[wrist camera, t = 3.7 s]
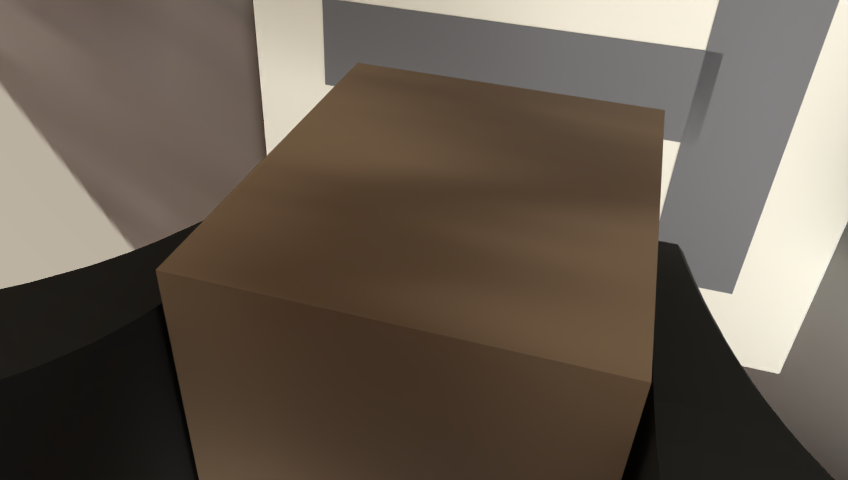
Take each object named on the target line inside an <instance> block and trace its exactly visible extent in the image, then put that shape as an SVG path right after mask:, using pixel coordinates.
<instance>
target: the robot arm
mask: <svg viewBox="0 0 848 480" xmlns="http://www.w3.org/2000/svg"><path fill="white" fill-rule="evenodd" d="M202 222H203V221H202ZM202 222H199V223H197V224H195V225H193V226H191V227H188V228H186V229H184V230H182V231H179V232H177V233H175V234H173V235H171V236H168V237H166V238H164V239H162V240H159V241H157V242H155V243H152V244H150V245H147V246H145V247H142V248H139V249H137V250H134V251H132V252H129V253H127V254H123V255H120V256H118V257H115V258H112V259H109V260H106V261H103V262H101V263H98V264H94V265H91V266H88V267H84V268H81V269H77V270H74V271H70V272H66V273H63V274H59V275H55V276H52V277H48V278H45V279H41V280H38V281H34V282H30V283H26V284H22V285H17V286H13V287H8V288H4V289H0V480H199V478H198V473H197V468H196V463H195V458H194V453H193V449H192V444H191V439H190V434H189V429H188V424H187V420H186V415H185V410H184V405H183V400H182V396H181V391H180V386H179V381H178V376H177V371H176V367H175V362H174V357H173V352H172V347H171V342H170V338H169V333H168V328H167V323H166V318H165V313H164V309H163V304H162V299H161V294H160V289H159V284H158V280H157V275H156V269H157V268H158V267H159V266H160V265H161V264H162V263H163V262H164V261H165V260H166V259H167V258H168V257H169V256H170V255H171V254H172V253H173V252H174V251H175V250H176V248H177V247H178V246H179V245H180V244H181V243H182V242H183V241H184V240H185V239H186V238H187V237H188V236H189V235H190V234H191V233H192V232H193V231H194V230H195V229H196V228H197V227H198V226H199V225H200V224H201V223H202ZM621 480H834V479H833V478H832V477H831V476H830V475H829V474H828V473H827V471H826V470H825V469H824V468H823V467H822V466H821V465H820V464H819V463H818V462H817V461H816V460H815V459H814V458H813V456H812V455H811V454H810V453H809V452H808V451H807V450H806V449H805V448H804V447H803V446H802V445H801V443H800V442H799V441H798V440H797V439H796V438H795V437H794V435H793V434H792V433H791V432H790V431H789V430H788V428H787V427H786V426H785V425H784V424H783V422H782V421H781V420H780V418H779V417H778V416H777V415H776V413H775V412H774V411H773V410H772V408H771V407H770V406H769V404H768V403H767V402H766V401H765V399H764V398H763V396H762V395H761V394H760V392H759V391H758V389H757V388H756V387H755V385H754V384H753V382H752V381H751V379H750V378H749V376H748V375H747V373H746V372H745V370H744V369H743V367H742V365H741V364H740V362H739V361H738V359H737V358H736V356H735V355H734V353H733V351H732V350H731V348H730V346H729V345H728V343H727V341H726V340H725V338H724V336H723V334H722V332H721V330H720V329H719V327H718V325H717V323H716V321H715V320H714V318H713V316H712V314H711V312H710V310H709V308H708V306H707V305H706V303H705V301H704V299H703V296H702V294H701V292H700V290H699V288H698V286H697V284H696V282H695V279H694V277H693V275H692V273H691V270H690V268H689V266H688V263H687V261H686V258H685V256H684V253H683V251H682V250H681V248H680V247H679V245H678V244H674V243H668V242H663V241H658V259H657V279H656V299H655V319H654V339H653V360H652V380H651V385H650V389H649V392H648V395H647V398H646V402H645V405H644V408H643V411H642V414H641V418H640V421H639V424H638V427H637V431H636V434H635V437H634V440H633V443H632V447H631V450H630V453H629V456H628V459H627V463H626V466H625V469H624V472H623V476H622V479H621Z"/></svg>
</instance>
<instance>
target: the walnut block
mask: <svg viewBox="0 0 848 480" xmlns="http://www.w3.org/2000/svg"><path fill="white" fill-rule="evenodd" d="M664 117H665V110H661V109H654V108H648V107H641V106H635V105H628V104H622V103H616V102H609V101H603V100H596V99H590V98H583V97H577V96H570V95H564V94H557V93H551V92H544V91H538V90H531V89H525V88H518V87H512V86H505V85H499V84H493V83H486V82H480V81H473V80H467V79H460V78H454V77H447V76H441V75H434V74H428V73H421V72H415V71H408V70H402V69H395V68H389V67H382V66H376V65H370V64H363V63H357V64H356V65H355V66H354V67H353V68H352V69H351V70H350V71H349V72H348V73H347V74H346V75H345V76H344V77H343V78H342V79H341V80H340V81H339V82H338V83H337V84H336V85H335V86H334V87H333V88H332V89H331V90H330V91H329V92H328V93H327V94H326V95H325V97H324V98H323V99H322V100H321V101H320V102H319V103H318V104H317V105H316V106H315V107H314V108H313V109H312V110H311V111H310V112H309V113H308V114H307V115H306V116H305V117H304V118H303V119H302V120H301V121H300V122H299V123H298V124H297V125H296V126H295V127H294V128H293V129H292V130H291V131H290V132H289V133H288V134H287V136H286V137H285V138H284V139H283V140H282V141H281V142H280V143H279V144H278V145H277V146H276V147H275V148H274V149H273V150H272V151H271V152H270V153H269V154H268V155H267V156H266V157H265V158H264V159H263V160H262V161H261V162H260V163H259V164H258V165H257V166H256V167H255V168H254V169H253V170H252V171H251V172H250V174H249V175H248V176H247V177H246V178H245V179H244V180H243V181H242V182H241V183H240V184H239V185H238V186H237V187H236V188H235V189H234V190H233V191H232V192H231V193H230V194H229V195H228V196H227V197H226V198H225V199H224V200H223V201H222V202H221V203H220V204H219V205H218V206H217V207H216V208H215V209H214V210H213V212H212V213H211V214H210V215H209V216H208V217H207V218H206V219H205V220H204V221H203V222H202V223H201V224H200V225H199V226H198V227H197V228H196V229H195V230H194V231H193V232H192V233H191V234H190V235H189V236H188V237H187V238H186V239H185V240H184V241H183V242H182V243H181V244H180V245H179V246H178V247H177V248H176V250H175V251H174V252H173V253H172V254H171V255H170V256H169V257H168V258H167V259H166V260H165V261H164V262H163V263H162V264H161V265H160V266H159V267H158V268H157V269H156V275H157V280H158V284H159V289H160V294H161V299H162V304H163V309H164V313H165V318H166V323H167V328H168V333H169V338H170V342H171V347H172V352H173V357H174V362H175V367H176V371H177V376H178V381H179V386H180V391H181V396H182V400H183V405H184V410H185V415H186V420H187V424H188V429H189V434H190V439H191V444H192V449H193V453H194V458H195V463H196V468H197V473H198V478H199V480H621V479H622V476H623V472H624V469H625V466H626V463H627V459H628V456H629V453H630V450H631V447H632V443H633V440H634V437H635V434H636V431H637V427H638V424H639V421H640V418H641V414H642V411H643V408H644V405H645V402H646V398H647V395H648V392H649V389H650V385H651V380H652V360H653V339H654V319H655V299H656V279H657V259H658V238H659V218H660V198H661V178H662V158H663V137H664Z"/></svg>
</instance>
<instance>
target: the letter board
mask: <svg viewBox="0 0 848 480" xmlns="http://www.w3.org/2000/svg"><path fill="white" fill-rule="evenodd" d="M253 5H254V16H255V27H256V38H257V49H258V61H259V72H260V83H261V94H262V105H263V117H264V128H265V139H266V150H267V155H268V154H269V153H270V152H271V151H272V150H273V149H274V148H275V147H276V146H277V145H278V144H279V143H280V142H281V141H282V140H283V139H284V138H285V137H286V136H287V134H288V133H289V132H290V131H291V130H292V129H293V128H294V127H295V126H296V125H297V124H298V123H299V122H300V121H301V120H302V119H303V118H304V117H305V116H306V115H307V114H308V113H309V112H310V111H311V110H312V109H313V108H314V107H315V106H316V105H317V104H318V103H319V102H320V101H321V100H322V99H323V98H324V97H325V95H326V94H327V93H328V92H329V91H330V90H331V89H332V88H333V87H334V86H335V85H336V84H337V83H338V82H339V81H340V80H341V79H342V78H343V77H344V76H345V75H346V74H347V73H348V72H349V71H350V70H351V69H352V68H353V67H354V66H355V65H356V64H357V63H363V64H370V65H376V66H382V67H389V68H395V69H402V70H408V71H415V72H421V73H428V74H434V75H441V76H447V77H454V78H460V79H467V80H473V81H480V82H486V83H493V84H499V85H505V86H512V87H518V88H525V89H531V90H538V91H544V92H551V93H557V94H564V95H570V96H577V97H583V98H590V99H596V100H603V101H609V102H616V103H622V104H628V105H635V106H641V107H648V108H654V109H661V110H665V117H664V137H663V158H662V178H661V198H660V218H659V238H658V241H663V242H668V243H674V244H678V245H679V247H680V248H681V250H682V251H683V253H684V256H685V258H686V261H687V263H688V266H689V268H690V270H691V273H692V275H693V277H694V279H695V282H696V284H697V286H698V288H699V290H700V292H701V294H702V296H703V299H704V301H705V303H706V305H707V306H708V308H709V310H710V312H711V314H712V316H713V318H714V320H715V321H716V323H717V325H718V327H719V329H720V330H721V332H722V334H723V336H724V338H725V340H726V341H727V343H728V345H729V346H730V348H731V350H732V351H733V353H734V355H735V356H736V358H737V359H738V361H739V362H740V364H741V365H742V366H745V367H749V368H754V369H759V370H763V371H768V372H772V373H777V374H779V373H780V371H781V369H782V367H783V364H784V362H785V360H786V358H787V356H788V353H789V351H790V349H791V347H792V344H793V342H794V340H795V338H796V335H797V333H798V331H799V329H800V327H801V324H802V322H803V320H804V318H805V315H806V313H807V311H808V309H809V306H810V304H811V302H812V300H813V298H814V295H815V293H816V291H817V289H818V286H819V284H820V282H821V280H822V277H823V275H824V273H825V271H826V269H827V266H828V264H829V262H830V260H831V257H832V255H833V253H834V251H835V249H836V246H837V244H838V242H839V240H840V237H841V235H842V233H843V231H844V228H845V226H846V224H847V222H848V0H253Z"/></svg>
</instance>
